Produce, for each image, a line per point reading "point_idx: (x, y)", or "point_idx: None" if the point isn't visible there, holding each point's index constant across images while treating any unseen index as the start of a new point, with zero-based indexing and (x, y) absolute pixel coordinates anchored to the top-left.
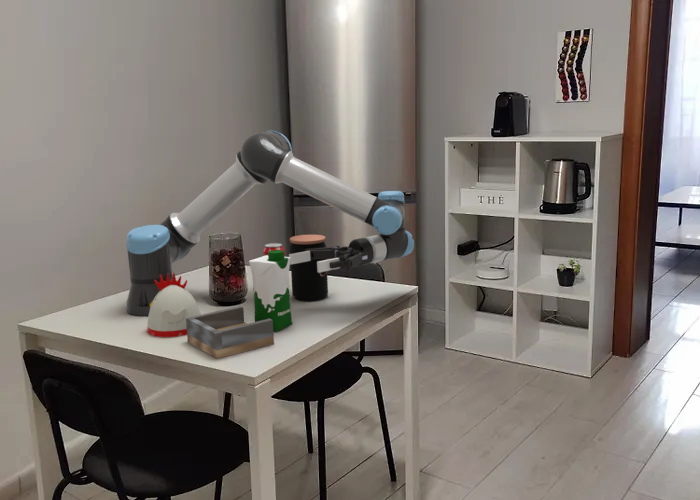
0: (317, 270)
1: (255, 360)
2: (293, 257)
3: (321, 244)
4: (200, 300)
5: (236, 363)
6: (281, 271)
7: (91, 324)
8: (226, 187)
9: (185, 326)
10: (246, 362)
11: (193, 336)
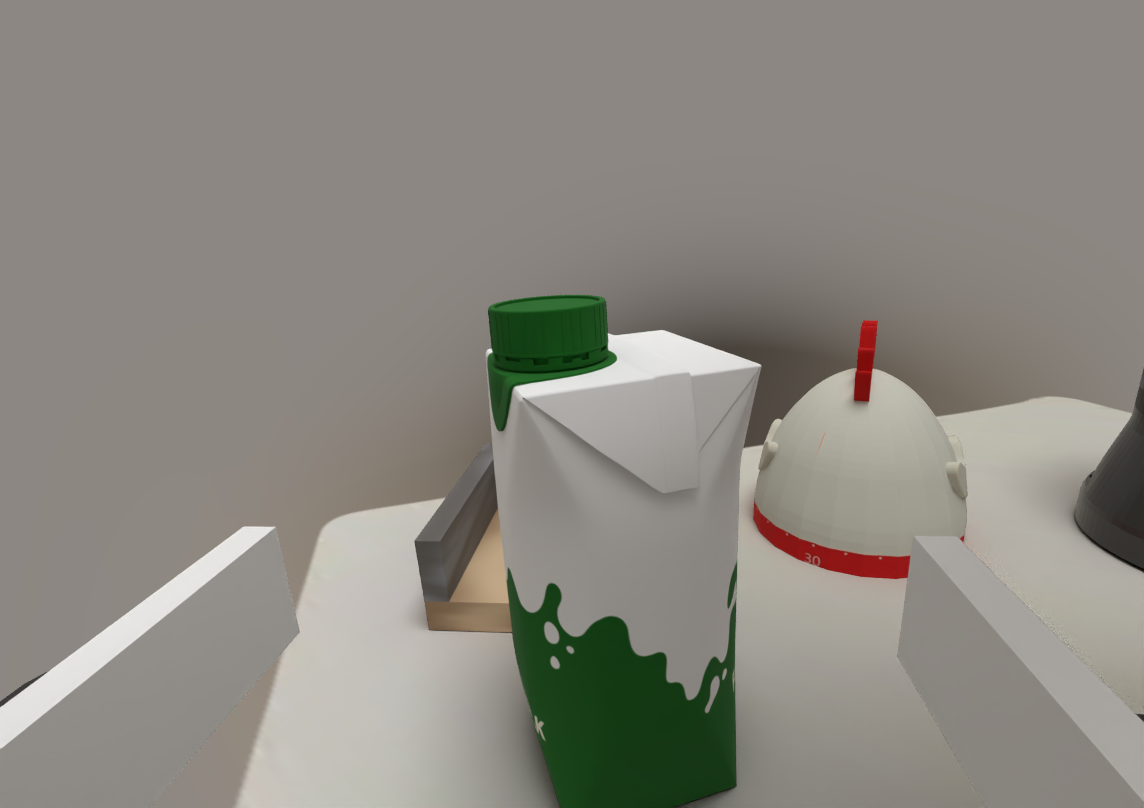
0: (295, 616)
1: (386, 548)
2: (932, 611)
3: None
4: None
5: (422, 521)
6: (494, 433)
7: (1007, 442)
8: None
9: (756, 496)
10: (401, 534)
11: None
